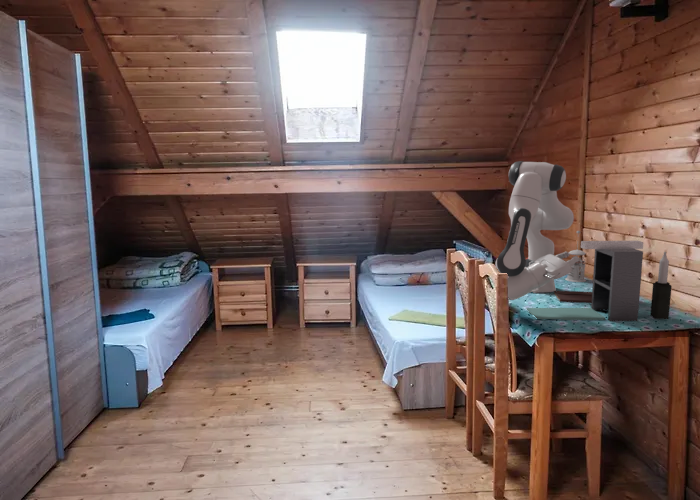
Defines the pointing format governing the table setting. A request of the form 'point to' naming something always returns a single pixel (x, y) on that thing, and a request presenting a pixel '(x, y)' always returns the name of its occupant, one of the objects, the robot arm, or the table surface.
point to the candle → (661, 292)
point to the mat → (566, 313)
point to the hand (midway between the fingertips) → (573, 255)
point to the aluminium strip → (611, 244)
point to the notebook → (574, 296)
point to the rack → (617, 283)
